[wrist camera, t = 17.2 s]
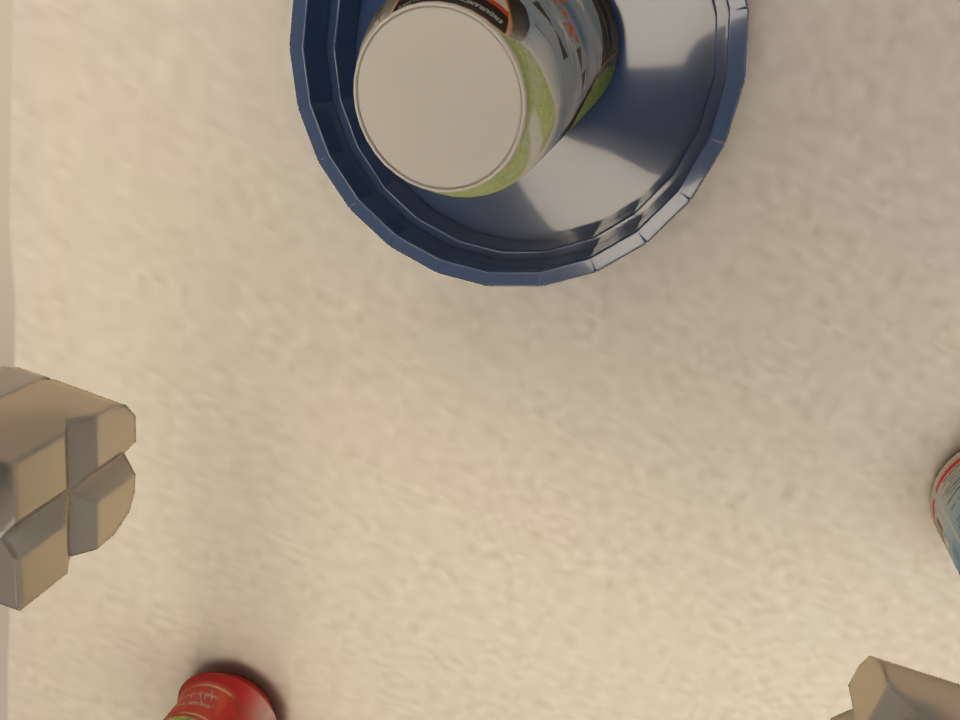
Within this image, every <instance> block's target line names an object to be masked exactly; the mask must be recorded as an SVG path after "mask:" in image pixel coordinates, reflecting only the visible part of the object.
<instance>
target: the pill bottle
mask: <svg viewBox="0 0 960 720" xmlns="http://www.w3.org/2000/svg"><path fill="white" fill-rule="evenodd" d="M930 507H931V514H932V517H933V521H934V523H935V526H936V528H937V530H938V532H939V534H940V536H941V538H942V540H943V542H944V544H945V546H946V548H947V550H948V552H949V554H950V556H951V558H952V560H953V562H954V564H955V566H956V568H957V570H958V572H959V574H960V452H958V453H957V454H956V455H955V456H953V457H952V458H951V459H950V460H949V461H948V462H947V463H946V464H945V465H944V467H943V468H942V469H941V471H940V472H939V474H938V476H937V478H936V480H935V482H934V485H933V488H932V492H931V498H930Z"/></svg>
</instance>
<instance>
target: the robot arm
mask: <svg viewBox="0 0 960 720" xmlns="http://www.w3.org/2000/svg"><path fill="white" fill-rule="evenodd" d="M135 442H136V419H135V415H134V413H133V412H132V411H131V410H130V409H129V408H128V407H127V406H126V405H124V404H121V403H118V402H116V401H113V400H110V399H107V398H104V397H102V396H99V395H96V394H93V393H91V392H88V391H85V390H82V389H79V388H77V387H74V386H71V385H68V384H66V383H63V382H60V381H57V380H52V379H50V378H48V377H46V376H43V375H40V374H37V373H34V372H31V371H28V370H25V369H22V368H19V367H7V366H2V367H0V604H2V605H5V606H7V607H10V608H13V609H16V610H19V611H20V610H22V609H23V608H24V607H25V606H27V605H28V604H29V603H30V602H32V601H33V600H34V599H35V598H37V597H38V596H39V595H40V594H42V593H43V592H44V591H45V590H47V589H48V588H49V587H50V586H52V585H53V584H54V583H56V582H57V581H58V580H59V579H61V578H62V577H63V576H64V575H66V574H67V572H68V566H69V560H70V557H71V556H74V555H78V554H82V553H85V552H89V551H93V550H96V549H98V548H99V547H100V546H101V545H102V544H104V543H105V542H106V541H107V540H108V539H110V538H111V537H112V536H113V535H114V534H115V533H116V531H117V530H118V528H119V527H120V525H121V524H122V522H123V521H124V519H125V517H126V516H127V514H128V513H129V510H130V507H131V503H132V500H133V496H134V493H135V473H134V471H133V469H132V467H131V465H130V463H129V461H128V460H127V458H126V456H125V454H124V453H125V452H126V451H127V450H128V449H129V448H130V447H131V446H132V445H133V444H134V443H135ZM848 686H849V691H850V696H851V701H852V705H853V709H851V710H848V711H846V712H844V713H841V714H839V715H837V716H835V717H832V718H831V719H830V720H960V685H959V684H956V683H953V682H950V681H947V680H944V679H941V678H938V677H935V676H932V675H929V674H925V673H922V672H919V671H916V670H913V669H910V668H907V667H904V666H901V665H898V664H895V663H891V662H888V661H885V660H882V659H879V658H876V657H873V656H869V657H867V658H866V659H865V660H864V661H863V662H862V663H861V664H860V665H859V666H858V668H857V670H856V672H855V674H854V676H853V677H852V679H851V681H850V683H849V685H848Z"/></svg>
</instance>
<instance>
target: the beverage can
mask: <svg viewBox="0 0 960 720" xmlns="http://www.w3.org/2000/svg"><path fill="white" fill-rule="evenodd" d="M618 53H619V33H618V26H617V20H616V17H615V14H614V11H613V8H612V5H611V3H610V1H609V0H387V1H386V2H385V3H384V4H383V5H382V7H381V8H380V9H379V10H378V11H377V12H376V14H375V16H374V17H373V19H372V21H371V23H370V24H369V26H368V28H367V29H366V32H365V35H364V38H363V40H362V43H361V46H360V50H359V55H358V60H357V63H356V69H355V74H354V89H353V95H354V103H355V110H356V114H357V117H358V121H359V124H360V127H361V129H362V132H363V134H364V136H365V138H366V140H367V142H368V143H369V145H370V147H371V148H372V150H373V151H374V153H375V154H376V155H377V157H378V158H379V159H380V160H381V161H382V162H383V164H384V165H385V166H386V167H388V168H389V169H390V170H391V171H392V172H393V173H395V174H396V175H397V176H399V177H400V178H402V179H404V180H405V181H407V182H408V183H410V184H413V185H415V186H418V187H420V188H422V189H427V190H429V191H432V192H434V193H438V194H442V195H447V196H451V197H476V196H483V195H488V194H491V193H494V192H497V191H500V190H503V189H504V188H506V187H508V186H510V185H511V184H513V183H515V182H517V181H518V180H520V179H521V178H522V177H523V176H524V175H525V174H527V173H528V172H529V171H530V170H531V169H532V168H533V167H534V166H535V165H536V164H537V163H538V162H539V161H540V160H541V159H542V158H543V157H544V156H545V155H546V154H547V153H548V152H549V151H550V150H551V149H552V148H553V147H554V146H555V145H556V144H557V143H558V142H559V141H560V140H561V139H562V137H563V136H564V135H565V134H566V133H567V132H568V131H569V130H570V129H571V128H572V127H573V126H574V125H575V124H576V123H577V122H578V121H579V120H580V119H581V118H582V117H583V116H584V115H585V114H586V113H587V112H588V111H589V110H590V109H591V108H592V107H593V106H594V105H595V103H596V102H597V101H598V100H599V98H600V97H601V96H602V95H603V93H604V92H605V90H606V88H607V86H608V85H609V83H610V81H611V79H612V76H613V73H614V70H615V68H616V63H617V58H618Z"/></svg>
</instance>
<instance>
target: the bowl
mask: <svg viewBox="0 0 960 720" xmlns="http://www.w3.org/2000/svg"><path fill="white" fill-rule="evenodd" d="M386 1H387V0H293V11H292V23H291V34H290V54H291V61H292V68H293V76H294V83H295V90H296V97H297V104H298V106H299V111H300V114H301V117H302V119H303V122H304V125H305V127H306V130H307V133H308V135H309V138H310V141H311V143H312V146H313V149H314V151H315V154H316V156H317V159H318V161H319V163H320V165H321V166H322V168H323V169H324V171H325V172H326V174H327V175H328V177H329V178H330V180H331V181H332V183H333V184H334V186H335V187H336V189H337V190H338V192H339V193H340V195H341V196H342V198H343V199H344V201H345V202H346V204H347V205H348V207H349V208H350V209H351V210H352V211H353V212H354V213H355V214H356V215H357V216H358V217H359V218H360V219H361V220H362V221H363V222H364V223H365V224H367V225H368V226H369V227H370V228H371V229H372V230H373V231H374V232H375V233H376V234H377V235H378V236H379V237H380V238H381V239H383V240H384V241H385V242H386V243H387V244H388V245H390V246H391V247H392V248H394V249H396V250H397V251H399V252H401V253H403V254H404V255H406V256H408V257H410V258H412V259H413V260H415V261H417V262H419V263H421V264H422V265H424V266H426V267H428V268H429V269H431V270H433V271H435V272H437V273H440V274H444V275H448V276H451V277H455V278H459V279H463V280H466V281H470V282H474V283H478V284H481V285H485V286H542V285H543V286H546V285H549V284H553V283H557V282H561V281H564V280H568V279H572V278H576V277H580V276H583V275H587V274H591V273H595V272H596V271H599V270H601V269H603V268H604V267H606V266H608V265H610V264H611V263H613V262H615V261H617V260H618V259H620V258H622V257H624V256H625V255H627V254H629V253H631V252H632V251H634V250H636V249H638V248H639V247H641V246H643V245H645V244H646V242H649V241H650V240H651V239H652V238H653V237H654V236H655V235H656V234H657V233H658V232H659V231H660V230H661V229H662V228H663V227H664V226H665V225H666V224H667V223H668V222H669V221H670V220H671V219H672V218H673V217H674V216H675V215H676V214H678V213H679V212H680V211H681V210H682V209H683V208H684V207H685V206H686V205H687V204H688V203H689V202H690V200H691V199H692V198H693V196H694V195H695V193H696V192H697V190H698V188H699V187H700V185H701V183H702V182H703V180H704V178H705V177H706V175H707V173H708V172H709V170H710V169H711V167H712V165H713V164H714V162H715V160H716V159H717V157H718V155H719V154H720V152H721V150H722V149H723V147H724V143H726V140H727V137H728V134H729V130H730V127H731V124H732V121H733V117H734V114H735V111H736V108H737V104H738V101H739V98H740V94H741V91H742V88H743V85H744V81H745V79H744V78H745V77H746V54H747V32H748V8H747V7H748V3H747V0H609V1H610V3H611V5H612V8H613V11H614V14H615V17H616V20H617V26H618V33H619V53H618V58H617V63H616V68H615V70H614V73H613V76H612V79H611V81H610V83H609V85H608V86H607V88H606V90H605V92H604V93H603V95H602V96H601V97H600V98H599V100H598V101H597V102H596V103H595V105H594V106H593V107H592V108H591V109H590V110H589V111H588V112H587V113H586V114H585V115H584V116H583V117H582V118H581V119H580V120H579V121H578V122H577V123H576V124H575V125H574V126H573V127H572V128H571V129H570V130H569V131H568V132H567V133H566V134H565V135H564V136H563V137H562V139H561V140H560V141H559V142H558V143H557V144H556V145H555V146H554V147H553V148H552V149H551V150H550V151H549V152H548V153H547V154H546V155H545V156H544V157H543V158H542V159H541V160H540V161H539V162H538V163H537V164H536V165H535V166H534V167H533V168H532V169H531V170H530V171H529V172H528V173H527V174H525V175H524V176H523V177H522V178H521V179H520V180H518V181H517V182H515V183H513V184H511V185H510V186H508V187H506V188H504V189H503V190H500V191H497V192H494V193H491V194H488V195H483V196H476V197H451V196H447V195H442V194H438V193H434V192H432V191H429V190H427V189H422V188H420V187H418V186H415V185H413V184H410V183H408V182H407V181H405V180H404V179H402V178H400V177H399V176H397V175H396V174H395V173H393V172H392V171H391V170H390V169H389V168H388V167H386V166H385V165H384V164H383V162H382V161H381V160H380V159H379V158H378V157H377V155H376V154H375V153H374V151H373V150H372V148H371V147H370V145H369V143H368V142H367V140H366V138H365V136H364V134H363V132H362V129H361V127H360V124H359V121H358V117H357V114H356V110H355V103H354V95H353V89H354V74H355V69H356V63H357V60H358V55H359V50H360V46H361V43H362V40H363V38H364V35H365V32H366V29H367V28H368V26H369V24H370V23H371V21H372V19H373V17H374V16H375V14H376V12H377V11H378V10H379V9H380V8H381V7H382V5H383V4H384V3H385V2H386Z"/></svg>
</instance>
